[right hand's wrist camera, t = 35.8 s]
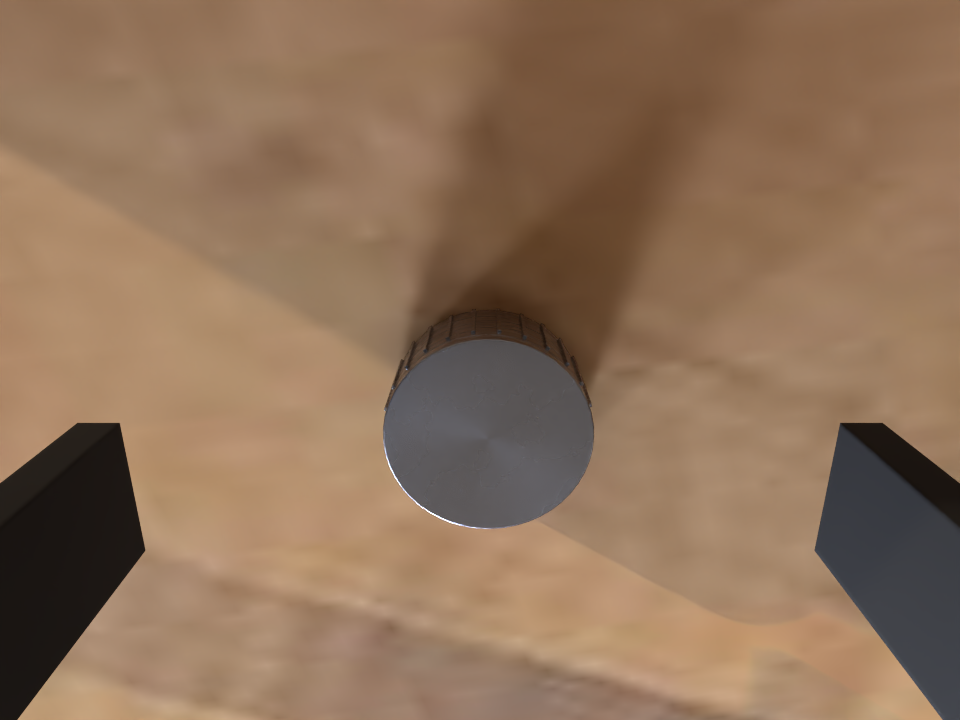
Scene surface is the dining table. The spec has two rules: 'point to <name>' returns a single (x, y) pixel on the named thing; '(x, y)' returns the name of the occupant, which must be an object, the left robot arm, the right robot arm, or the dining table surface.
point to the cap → (488, 420)
